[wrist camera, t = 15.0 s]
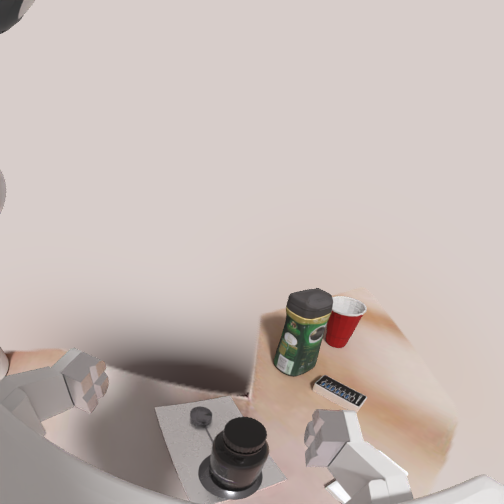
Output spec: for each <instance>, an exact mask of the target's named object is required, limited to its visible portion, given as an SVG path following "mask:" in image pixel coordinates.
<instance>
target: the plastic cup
mask: <svg viewBox="0 0 504 504" xmlns="http://www.w3.org/2000/svg"><path fill="white" fill-rule="evenodd" d="M332 298H333V307H332V312H331V315H330V317H329V319H328V322H327V334H326V342H327V343H328V344H329V345H330V346H332V347H335V348H342V347H344V346H345V345H346V344H347V342H348V340H349V338H350V337H351V335H352V334H353V332H354V330H355V328H356V326H357V324H358V322H359V320H360V319H361V317H362V316H363V314H364V313H365V312H366V306H365V305H364V303H362V302H360V301H359V300H356V299H354V298H350V297H345V296H336V297H332Z"/></svg>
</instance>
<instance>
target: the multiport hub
mask: <svg viewBox="0 0 504 504" xmlns="http://www.w3.org/2000/svg"><path fill="white" fill-rule="evenodd" d="M312 390H313V391H314V392H316V393H317V394H319V395H321V396H323V397H325V398H326V399H328V400H330V401H332V402H334V403H335V404H337V405H339V406H341V407H343V408H345V409H347V410H354V411H355V412H356V413H357V412H358V411H359V409H360V408H361V407H362V405H363V404H364V402H365V400H366V398H367V396H365V395H363V394H361V393H359V392H357V391H355V390H353V389H351V388H349V387H347V386H345V385H344V384H342V383H340V382H338V381H336V380H334V379H332V378H330V377H328V376H327V375H323V376H322V377H321V378H320V379H319V380H318V381H316V382H315V384H314V387H313V389H312Z"/></svg>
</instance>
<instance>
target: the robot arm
mask: <svg viewBox="0 0 504 504" xmlns="http://www.w3.org/2000/svg"><path fill="white" fill-rule="evenodd" d="M34 1H35V0H0V34H1V33H3V32H5V31H7V30H9V29H10V28H11V27H12V26H14V25H15V24H16V23H17V22H19V21H20V19H21V18H22V17H23V15H24V14H25V13H26V11H27V10H28V9H29V8H30V7H31V5H32V4H33V3H34ZM5 197H6V185H5V180H4V177H3V174H2V172H1V170H0V213H1V211H2V209H3V206H4V202H5ZM8 366H9V362H8V358H7V356H6V355H5V353H4V352H3V350H2V349H1V347H0V504H199V503H194V502H190V501H186V500H182V499H179V498H175V497H171V496H168V495H165V494H161V493H158V492H155V491H152V490H149V489H146V488H144V487H141V486H138V485H136V484H133V483H130V482H128V481H125V480H123V479H121V478H118V477H116V476H114V475H111V474H109V473H107V472H105V471H103V470H101V469H99V468H97V467H95V466H93V465H91V464H89V463H87V462H85V461H83V460H81V459H79V458H77V457H76V456H74V455H72V454H70V453H69V452H67V451H65V450H64V449H62V448H60V447H59V446H57V445H55V444H54V443H52V442H51V441H49V440H48V439H46V438H45V437H44V435H45V434H46V431H45V429H44V427H43V425H42V424H41V421H44V420H46V419H48V418H51V417H53V416H55V415H57V414H60V413H62V412H64V411H66V410H68V409H71V408H73V407H74V406H75V407H77V408H79V409H81V410H83V411H86V412H88V413H90V414H91V413H92V411H93V410H94V409H95V407H96V406H97V404H98V398H101V397H103V396H104V395H105V393H106V391H107V388H108V383H109V380H108V376H107V375H106V373H105V372H104V370H105V369H106V365H105V362H104V361H102V360H100V359H98V358H96V357H93V356H91V355H89V354H87V353H84V352H82V351H80V350H78V349H76V348H72V349H70V350H69V351H68V352H67V353H66V354H65V355H64V356H63V357H62V358H60V359H59V360H58V361H57V362H56V363H55V364H54V365H53V366H52V367H51V368H50V367H44V368H40V369H35V370H31V371H27V372H22V373H18V374H13V375H9V376H5V375H6V373H7V371H8ZM312 418H313V420H312V421H311V422H309V423H308V425H307V427H306V431H305V437H304V442H305V445H306V446H307V447H308V449H307V451H306V453H305V458H306V467H328V470H329V471H330V472H331V474H332V475H333V476H334V478H335V479H336V480H337V481H338V483H339V484H340V485H341V486H342V488H343V489H344V490H345V491H346V493H347V494H348V495H349V496H350V498H351V499H350V500H348V501H347V502H346V503H345V504H504V485H503V484H501V483H500V482H498V481H496V480H495V479H493V478H491V477H489V476H487V475H479V476H476V477H474V478H471V479H469V480H467V481H465V482H462V483H460V484H457V485H455V486H452V487H450V488H447V489H444V490H441V491H439V492H436V493H433V494H429V495H426V496H423V497H420V498H416V499H413V495H412V492H411V488H410V485H409V482H408V479H407V475H406V474H405V473H404V472H403V471H402V470H400V469H399V468H398V467H397V466H396V465H394V464H393V463H392V462H391V461H390V460H388V459H387V458H386V457H385V456H384V455H382V454H381V453H380V452H379V451H378V450H377V449H375V448H374V447H373V446H372V445H371V444H370V443H369V442H364V440H363V436H362V432H361V429H360V425H359V422H358V418H357V415H356V412H355V411H354V410H323V409H316V410H315V411H314V413H313V415H312Z"/></svg>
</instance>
